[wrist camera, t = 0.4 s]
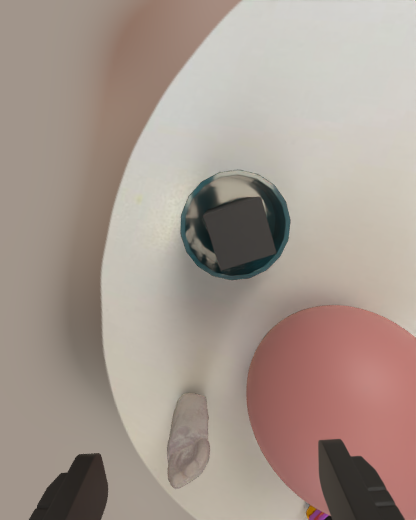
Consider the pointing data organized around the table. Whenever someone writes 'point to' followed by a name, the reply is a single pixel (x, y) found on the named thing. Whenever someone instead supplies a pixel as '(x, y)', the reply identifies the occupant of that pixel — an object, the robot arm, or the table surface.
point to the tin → (222, 192)
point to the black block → (239, 232)
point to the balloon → (336, 398)
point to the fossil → (188, 440)
